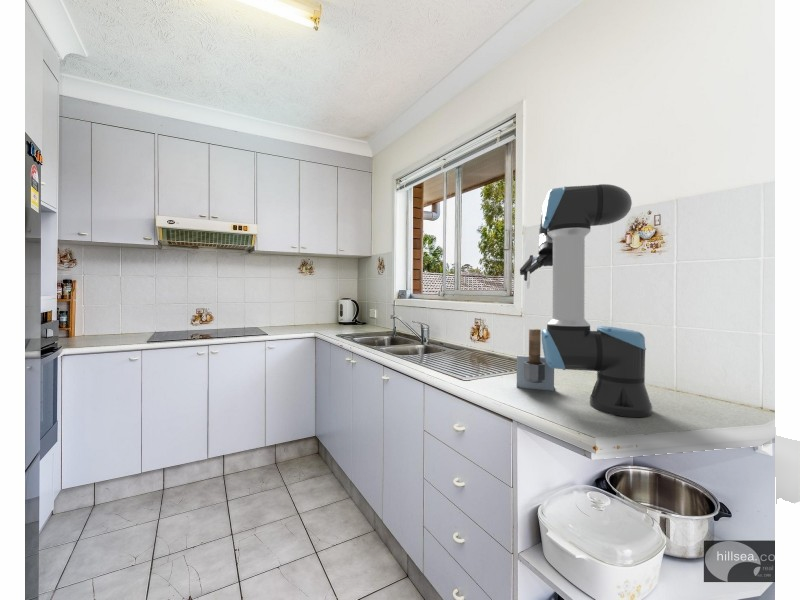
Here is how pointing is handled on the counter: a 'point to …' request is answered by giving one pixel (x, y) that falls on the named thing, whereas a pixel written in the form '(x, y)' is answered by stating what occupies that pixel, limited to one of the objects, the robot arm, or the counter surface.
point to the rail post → (534, 346)
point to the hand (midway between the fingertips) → (547, 285)
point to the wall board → (525, 384)
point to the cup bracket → (534, 372)
